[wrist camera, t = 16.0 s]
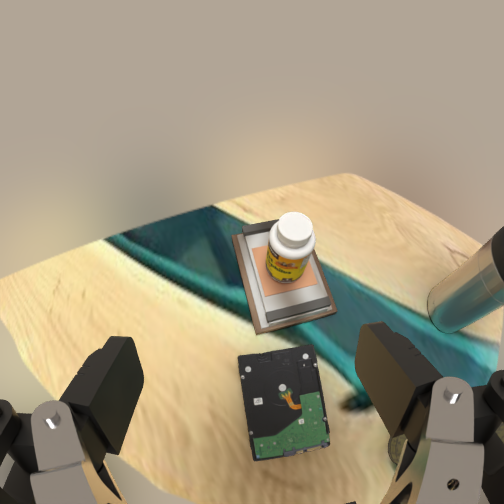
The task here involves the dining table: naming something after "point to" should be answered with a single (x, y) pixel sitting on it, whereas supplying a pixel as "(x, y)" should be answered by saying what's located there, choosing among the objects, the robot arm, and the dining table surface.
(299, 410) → the disk drive
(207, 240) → the dining table surface
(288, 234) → the supplement bottle
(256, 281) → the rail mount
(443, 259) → the dining table surface
